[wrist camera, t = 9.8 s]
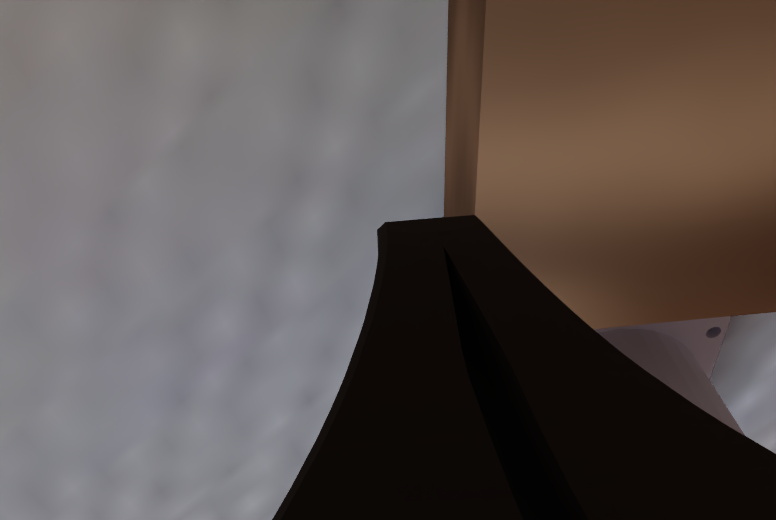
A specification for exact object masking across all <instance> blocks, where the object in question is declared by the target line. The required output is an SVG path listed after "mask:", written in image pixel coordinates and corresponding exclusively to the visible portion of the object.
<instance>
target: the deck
mask: <svg viewBox="0 0 776 520" xmlns="http://www.w3.org/2000/svg"><path fill="white" fill-rule="evenodd" d="M466 215H476V216H477V217H478V218H479V219H480V220H481V221H482V222H483V223H484V224H485V225H486V226H487V227H488V228H489V229H490V230H491V231H492V232H493V233H494V234H495V236H496V237H497V238H498V239H499V240H500V241H501V242H502V243H503V244H504V245H505V246H506V247H507V248H508V249H509V250H510V251H511V252H512V253H513V254H514V255H515V256H516V257H517V258H518V259H519V260H520V261H521V262H522V263H523V264H524V265H525V266H526V267H527V268H528V269H529V270H530V271H531V272H532V273H533V274H534V275H535V276H536V277H537V278H538V279H539V280H540V281H541V282H542V283H543V284H544V285H545V286H546V287H547V288H548V289H549V290H550V291H552V292H553V293H554V294H555V295H556V296H557V297H558V298H559V299H560V300H561V301H562V302H563V303H564V304H566V305H567V306H568V307H569V308H570V309H571V310H572V311H573V312H574V313H575V314H576V315H578V316H579V317H580V318H581V319H582V320H583V321H585V322H586V323H587V324H588V325H589V326H590V327H591V328H593V329H601V328H611V327H622V326H632V325H643V324H653V323H664V322H674V321H685V320H695V319H705V318H716V317H726V316H737V315H747V314H758V313H768V312H776V0H449V6H448V53H447V100H446V147H445V194H444V217H454V216H466Z"/></svg>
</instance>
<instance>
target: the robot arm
mask: <svg viewBox="0 0 776 520" xmlns="http://www.w3.org/2000/svg"><path fill="white" fill-rule="evenodd" d="M377 236H378V262H377V269H376V274H375V280H374V285H373V289H372V293H371V297H370V301H369V304H368V308H367V312H366V316H365V320H364V323H363V326H362V330H361V333H360V335H359V338H358V341H357V344H356V347H355V349H354V352H353V355H352V358H351V361H350V363H349V366H348V369H347V372H346V374H345V377H344V380H343V382H342V384H341V387H340V389H339V392H338V394H337V396H336V399H335V401H334V403H333V405H332V408H331V410H330V412H329V414H328V416H327V418H326V421H325V423H324V425H323V427H322V429H321V431H320V433H319V435H318V437H317V439H316V441H315V443H314V445H313V447H312V449H311V451H310V453H309V455H308V457H307V458H306V460H305V462H304V464H303V466H302V468H301V470H300V472H299V474H298V475H297V477H296V479H295V481H294V483H293V485H292V487H291V488H290V490H289V492H288V494H287V495H286V497H285V499H284V501H283V502H282V504H281V506H280V507H279V509H278V511H277V513H276V514H275V516H274V518H273V519H272V520H776V454H775V453H773V452H771V451H770V450H768V449H766V448H765V447H763V446H761V445H760V444H758V443H756V442H754V441H753V440H751V439H749V438H748V437H746V436H745V435H744V433H743V432H742V430H741V429H740V427H739V426H738V424H737V422H736V421H735V419H734V418H733V416H732V415H731V413H730V412H729V410H728V408H727V407H726V405H725V404H724V402H723V401H722V399H721V397H720V396H719V394H718V393H717V391H716V390H715V388H714V387H713V385H712V383H711V382H710V377H711V374H712V371H713V368H714V365H715V362H716V359H717V357H718V354H719V351H720V348H721V345H722V342H723V339H724V336H725V334H726V331H727V328H728V325H729V322H730V318H731V316H726V317H716V318H705V319H695V320H685V321H674V322H664V323H653V324H643V325H632V326H622V327H611V328H601V329H593V328H591V327H590V326H589V325H588V324H587V323H586V322H585V321H583V320H582V319H581V318H580V317H579V316H578V315H576V314H575V313H574V312H573V311H572V310H571V309H570V308H569V307H568V306H567V305H566V304H564V303H563V302H562V301H561V300H560V299H559V298H558V297H557V296H556V295H555V294H554V293H553V292H552V291H550V290H549V289H548V288H547V287H546V286H545V285H544V284H543V283H542V282H541V281H540V280H539V279H538V278H537V277H536V276H535V275H534V274H533V273H532V272H531V271H530V270H529V269H528V268H527V267H526V266H525V265H524V264H523V263H522V262H521V261H520V260H519V259H518V258H517V257H516V256H515V255H514V254H513V253H512V252H511V251H510V250H509V249H508V248H507V247H506V246H505V245H504V244H503V243H502V242H501V241H500V240H499V239H498V238H497V237H496V236H495V234H494V233H493V232H492V231H491V230H490V229H489V228H488V227H487V226H486V225H485V224H484V223H483V222H482V221H481V220H480V219H479V218H478V217H477V216H476V215H466V216H454V217H442V218H430V219H418V220H406V221H394V222H385V223H384V224H383V225H382V226H381V227H380V228H379V229H378V230H377ZM711 328H712V329H711ZM709 329H710V330H709Z"/></svg>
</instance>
